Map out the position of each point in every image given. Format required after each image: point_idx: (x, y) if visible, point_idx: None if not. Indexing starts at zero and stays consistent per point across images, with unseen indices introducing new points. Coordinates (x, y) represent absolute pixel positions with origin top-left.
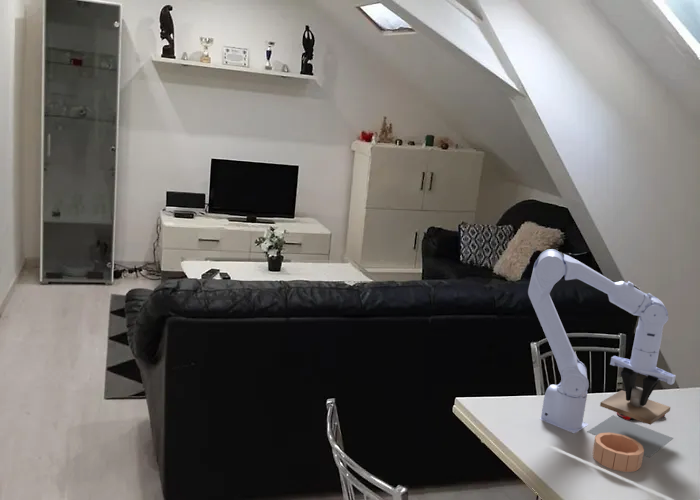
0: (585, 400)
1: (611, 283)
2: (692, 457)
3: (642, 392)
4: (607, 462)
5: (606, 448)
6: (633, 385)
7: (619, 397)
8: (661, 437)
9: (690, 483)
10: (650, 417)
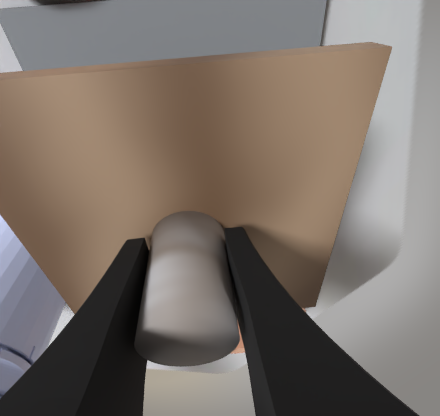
0: (35, 336)
1: None
2: (407, 85)
3: (248, 366)
4: None
5: (238, 351)
6: (119, 340)
7: (66, 235)
8: (282, 44)
9: (394, 232)
10: (304, 289)
